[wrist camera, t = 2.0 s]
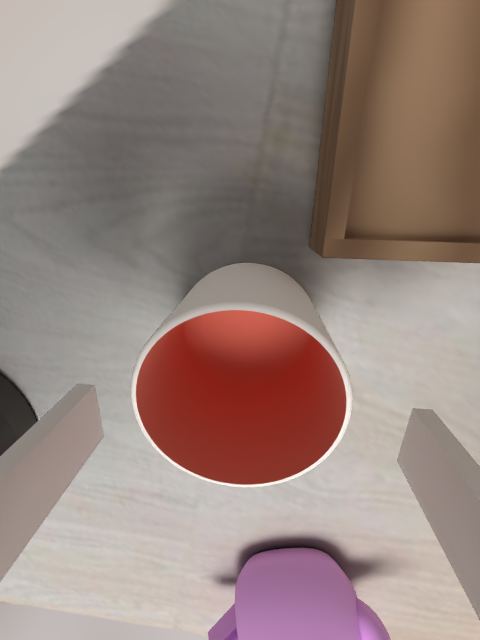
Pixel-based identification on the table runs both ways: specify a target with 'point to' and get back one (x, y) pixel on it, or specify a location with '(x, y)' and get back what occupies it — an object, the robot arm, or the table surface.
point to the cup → (243, 381)
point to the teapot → (296, 601)
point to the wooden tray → (401, 133)
